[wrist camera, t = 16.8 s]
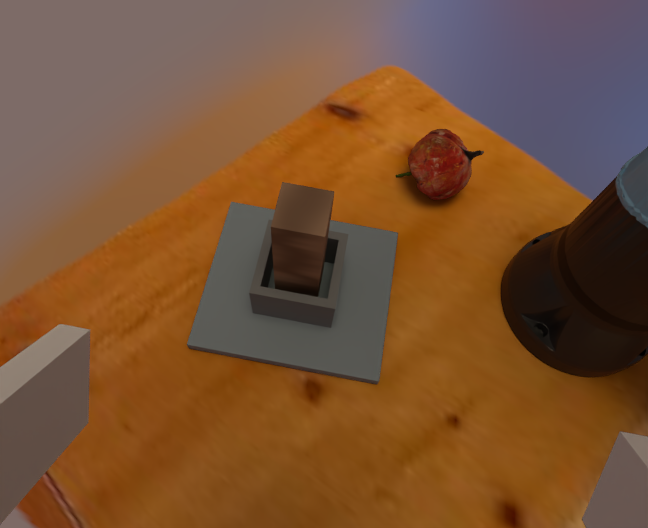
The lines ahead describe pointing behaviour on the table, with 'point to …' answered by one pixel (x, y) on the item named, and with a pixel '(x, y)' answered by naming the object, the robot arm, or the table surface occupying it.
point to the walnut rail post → (300, 238)
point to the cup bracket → (298, 300)
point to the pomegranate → (440, 164)
